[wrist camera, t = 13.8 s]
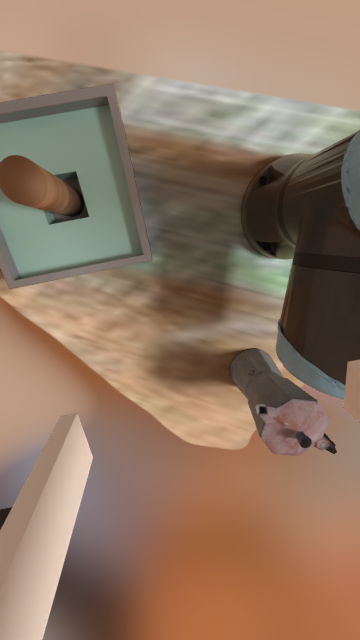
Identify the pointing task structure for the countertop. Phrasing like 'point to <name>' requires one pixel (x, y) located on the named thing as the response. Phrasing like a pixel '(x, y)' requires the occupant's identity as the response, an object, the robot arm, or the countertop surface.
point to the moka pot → (279, 406)
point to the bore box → (79, 172)
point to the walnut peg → (38, 187)
